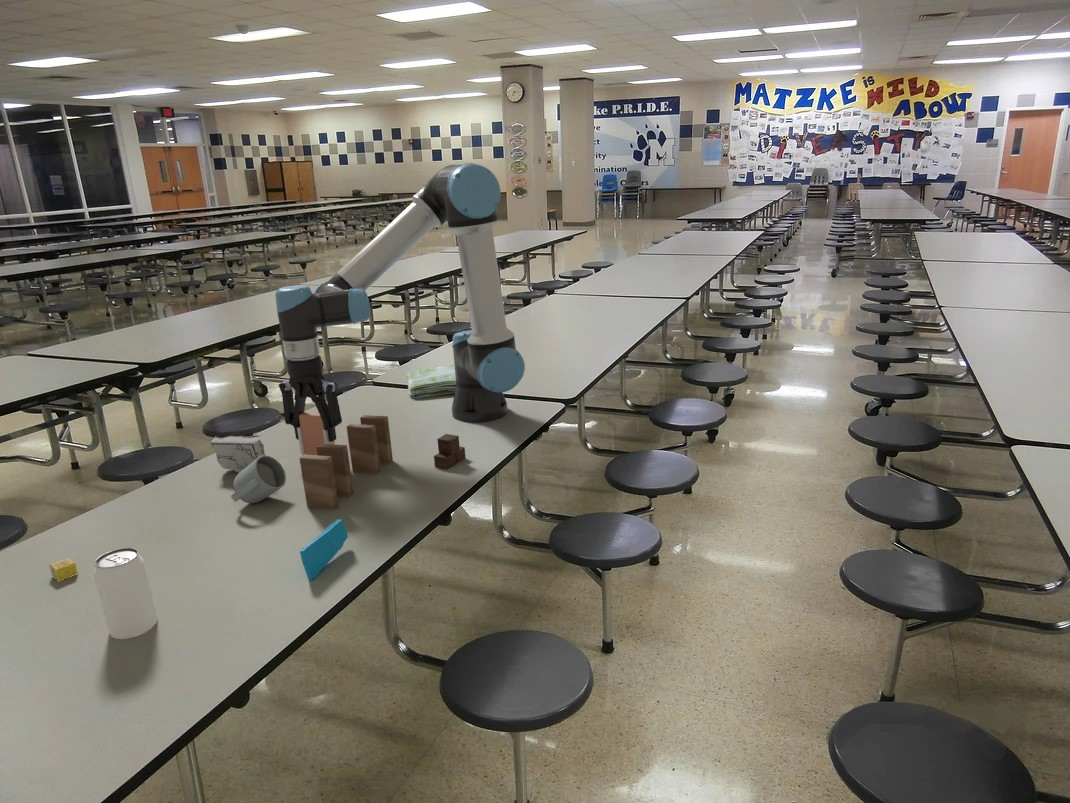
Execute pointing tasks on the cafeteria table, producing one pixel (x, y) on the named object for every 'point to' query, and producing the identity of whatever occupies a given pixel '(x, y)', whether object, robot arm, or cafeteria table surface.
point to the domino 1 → (311, 431)
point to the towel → (432, 382)
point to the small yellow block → (63, 569)
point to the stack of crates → (449, 452)
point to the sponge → (323, 548)
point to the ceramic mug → (259, 480)
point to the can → (125, 593)
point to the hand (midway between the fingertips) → (318, 452)
